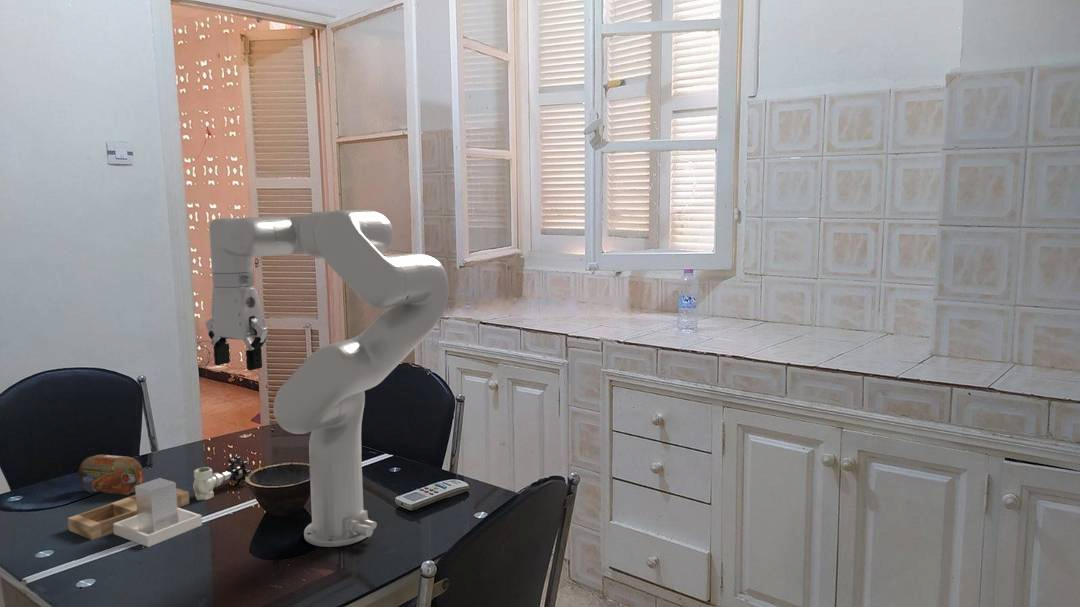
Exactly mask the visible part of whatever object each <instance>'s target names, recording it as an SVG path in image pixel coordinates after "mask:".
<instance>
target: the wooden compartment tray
mask: <svg viewBox="0 0 1080 607" xmlns="http://www.w3.org/2000/svg"><path fill="white" fill-rule="evenodd" d="M189 494H190V492H189V491H187V490H184V489H182V488H177V487H176V495H177V507H178V508H181V507H183V506H186V505H189V504H190V495H189ZM135 515H137V504H136V494H134V495H131V496H128V497H124V498H122V499H119V500H116V501H114V502H111V503H107V504H104V505H101V506H99V507H95V508H93V509H90V510H86V511H84V512H81V513H78V514H75V515H73V516H70V517H67V525H68V526H67V527H68V531H69V532H70V533H71V532H72V533H74V534H76V535H78V536H81V537H84V538H87V539H89V540H95V539H98V538H100V537H104V536H106V535H109V534H111V533H114V530H113V523H116V522H119V521H122V520H124V519H127V518H130V517H133V516H135Z"/></svg>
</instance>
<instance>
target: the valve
mask: <svg viewBox="0 0 1080 607" xmlns="http://www.w3.org/2000/svg"><path fill="white" fill-rule="evenodd" d="M241 460H242V457H241V456H240V455H238V456H235V457H234V458H233V457H232V458H229V459H228V460H227V463H228V464H229V465H228V466H227V467H225V471H224V472H221V473H219V472H213V469H212V468H211V467H209V466H203V467H198V468H196V469H194V470H193V478H194V481H193V485H192V487H193V488H192V489H193V491H194V493H195V495H194V496H195V499H196V500H197V501H205V500H209V499H212V498H214V497H215V495H214V494H215V492H214V491H213V490H214V488H218V487H221V485H222V484H223V482H225V481H227V480H229V481H230V482H231V481H233V482H235V485H236V486H241V485H242V484H245V483H244V480H245V479H246V478H248V477H247V476H249V475H251V473H252V471H251V469H247V467H246V466H248V465H249V463H248V461H247V460H243V461H241ZM236 465H239V466H236ZM235 466H236V467H235ZM240 474H242V475H241V477H240V476H239V475H240Z"/></svg>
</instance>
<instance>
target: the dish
mask: <svg viewBox="0 0 1080 607" xmlns="http://www.w3.org/2000/svg"><path fill="white" fill-rule="evenodd" d="M177 509H178V523H177V524H174V525H172V526H169V527H166V528H164V529H161V530H159V531H156V532H154V533H151V534H146V533H143V532H140V531H139V530H138V517H137V515H135V516H133V517H130V518H127V519H124V520H122V521H119V522H116V523H113V530H114V532H113V535H115V536H118V537H120V538H123V539H126V540H128V541H131V542H134V543H136V544H138V545H139V544H140V545H141V546H144V547H146V548H150V547H152V546H154V545H157V544H159V543H162V542H164V541H167V540H169V539H172V538H174V537H177V536H180V535H182V534H184V533H186V532H188V531H192V530H194V529H196V528H199V527H201V526H203V516H202V514H199V513H195V512H193V511H190V510H187V509H185V508H184V509H183V508H181V507H179V508H178V507H177Z"/></svg>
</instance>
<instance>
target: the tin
mask: <svg viewBox="0 0 1080 607" xmlns="http://www.w3.org/2000/svg"><path fill="white" fill-rule="evenodd" d="M144 477H145V476H144V469H143V467H142V464H140V462H139V461H138V460H137V459H135V458H134V457H132V456H126V455H125V456H123V455H110V454H96V455H93V456H92V455H91V456H88V457H86V458H84V459H83V460H82V462H81V463H80V466H79V468H78V480H79V482H80V484H81V486H82V487H83V489H84V490H85V491H86V492H88V493H89V494H91V493H95V492H98V493H99V492H100V493H108V494H118V495H126V496H130V495H131V494H134V493H136V491H135V486H137V485H140V484H143V483H144Z"/></svg>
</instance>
